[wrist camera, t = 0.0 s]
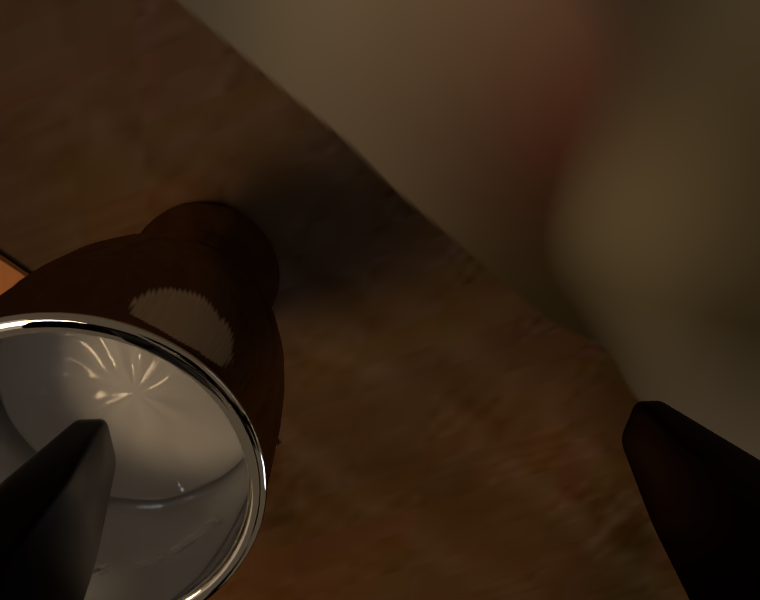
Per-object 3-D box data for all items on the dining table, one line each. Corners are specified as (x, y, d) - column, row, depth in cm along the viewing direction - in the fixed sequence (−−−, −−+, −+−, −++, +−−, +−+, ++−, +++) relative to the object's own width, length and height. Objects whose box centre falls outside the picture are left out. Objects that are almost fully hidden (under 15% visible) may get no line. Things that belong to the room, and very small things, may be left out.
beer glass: (265, 173, 23) (211, 252, 9) (307, 328, 25) (320, 593, 11) (94, 213, 22) (-256, 365, 8) (153, 367, 25) (-44, 696, 10)
